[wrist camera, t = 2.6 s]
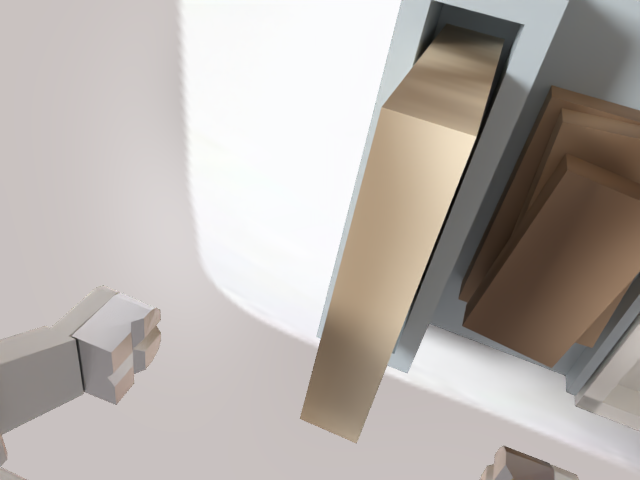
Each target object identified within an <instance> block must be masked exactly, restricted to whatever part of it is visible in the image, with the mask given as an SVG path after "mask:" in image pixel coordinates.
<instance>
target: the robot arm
mask: <svg viewBox="0 0 640 480" xmlns="http://www.w3.org/2000/svg"><path fill="white" fill-rule="evenodd" d="M160 320H161V315H160V310H159V309H157V308H155V307H153V306H151V305H148V304H146V303H144V302H142V301H139V300H137V299H134V298H132V297H130V296H128V295H125V294H123V293H120V292H118V291H115V290H113V289H111V288H108V287H106V286H104V285H103V286H100V287H97V288H95V289H94V290H93V291H92V292H90V293H89V294H88V295H87V296H86V297H85V298H84V299H83V300H82V301H80V302H79V303H78V304H77V305H76V306H75V307H73V308H72V309H71V310H70V311H69V312H68V313H67V314H66V315H65V316H63V317H62V318H61V319H60V320H59V321H58V322H57V323H55V324H54V325H53V326H52V327H51V328H49V327H46V326H43V327H40V328H37V329H34V330H30V331H27V332H24V333H20V334H17V335H14V336H11V337H8V338H4V339H1V340H0V480H27V479H24V478H22V477H20V476H18V475H16V474H14V473H12V472H10V471H8V470H6V469H4V468H2V467H1V466H2V464H3V463H4V462H5V461H6V460H7V451H6V447H5V444H4V441H3V438H2V434H4V433H6V432H8V431H10V430H12V429H14V428H16V427H18V426H20V425H22V424H24V423H26V422H28V421H30V420H32V419H34V418H36V417H38V416H40V415H42V414H44V413H46V412H48V411H50V410H53V409H55V408H56V407H58V406H61V405H63V404H64V403H67V402H69V401H70V400H73V399H74V398H77V397H79V396H81V395H82V394H84V392H86V393H89V394H91V395H93V396H96V397H98V398H100V399H103V400H106V401H108V402H111V403H113V404H115V405H117V403H118V402H119V401H120V400H121V398H122V397H123V396H124V395H125V394H126V393H127V391H128V390H129V389H130V388H131V387H132V385H133V384H134V374H135V373H138V372H140V371H143V370H145V369H146V368H147V367H148V366H149V364H150V363H151V362H152V361H153V359H154V357H155V355H156V353H157V351H158V349H159V345H160V342H161V332H160V331H159V329H158V328H157V326H156V325H157V324H158V322H159V321H160ZM480 480H579V479H578V477H577V475H576V474H573V473H571V472H568V471H566V470H563V469H561V468H558V467H556V466H553V465H550V464H549V463H547V462H544V461H542V460H539V459H537V458H534V457H532V456H529V455H526V454H524V453H521V452H519V451H516V450H513V449H511V448H508V447H505V446H502V447H500V448H499V449H498V451H497V452H496V454H495V460H494V464H493V465H489V466H487V467H486V469H485V470H484V472H483V474H482V475H481V478H480Z"/></svg>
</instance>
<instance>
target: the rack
mask: <svg viewBox="0 0 640 480" xmlns="http://www.w3.org/2000/svg"><path fill="white" fill-rule="evenodd" d="M446 24H451V25H455V26H458V27H462V28H466V29H469V30H473V31H477V32H480V33H484V34H487V35H491V36H495V37H498V38H502V39H505V40H504V43H503V47H502V50H501V54H500V57H499V61H498V64H497V68H496V71H495V75H494V78H493V82H492V85H491V89H490V92H489V96H488V99H487V102H486V106H485V109H484V113H483V116H482V120H481V123H480V127H479V130H478V134H477V137H476V140H475V142H474V145H473V147H472V150H471V152H470V155H469V157H468V160H467V163H466V165H465V168H464V170H463V173H462V175H461V178H460V180H459V183H458V186H457V188H456V191H455V193H454V196H453V198H452V201H451V203H450V206H449V209H448V211H447V214H446V216H445V219H444V221H443V224H442V226H441V229H440V232H439V234H438V237H437V239H436V242H435V244H434V247H433V249H432V252H431V255H430V257H429V260H428V262H427V265H426V267H425V270H424V272H423V275H422V278H421V280H420V283H419V285H418V288H417V290H416V293H415V295H414V298H413V301H412V303H411V306H410V308H409V311H408V313H407V316H406V318H405V321H404V324H403V326H402V329H401V331H400V334H399V336H398V339H397V341H396V344H395V347H394V349H393V352H392V354H391V357H390V359H389V362H388V364H387V366H390V367H392V368H395V369H397V370H400V371H402V372H405V373H408V371H409V369H410V366H411V364H412V362H413V360H414V357H415V355H416V353H417V350H418V348H419V346H420V343H421V341H422V339H423V336H424V334H425V332H426V330H427V327H428V325H429V324H432V325H434V326H437V327H440V328H442V329H445V330H448V331H450V332H453V333H455V334H458V335H461V336H463V337H466V338H468V339H471V340H474V341H476V342H479V343H481V344H484V345H487V346H489V347H492V348H495V349H497V350H500V351H502V352H505V353H508V354H510V355H513V356H515V357H518V358H521V359H523V360H526V361H529V362H531V363H534V364H536V365H539V366H542V367H544V368H547V369H549V370H552V371H555V372H557V373H560V374H562V375H565V376H566V392H567V393H570V394H573V395H575V396H576V395H577V393H578V392H579V391H580V389H581V388H582V387H583V385H584V384H585V383H586V382H587V380H588V379H589V378H590V376H591V375H592V374H593V372H594V371H595V370H596V369H597V367H598V366H599V365H600V363H601V362H602V361H603V359H604V358H605V357H606V355H607V354H608V353H609V352H610V350H611V349H612V348H613V346H614V345H615V344H616V342H617V341H618V340H619V339H620V337H621V336H622V335H623V333H624V332H625V331H626V329H627V328H628V327H629V326H630V324H631V323H632V322H633V320H634V319H635V318H636V316H637V315H638V314H639V312H640V272H639V273H638V274H637V275H636V276H635V278H634V280H633V281H632V283H631V284H630V286H629V288H628V289H627V291H626V293H625V294H624V296H623V298H622V299H621V301H620V303H619V304H618V306H617V308H616V309H615V311H614V313H613V314H612V316H611V318H610V319H609V321H608V323H607V324H606V326H605V328H604V329H603V331H602V333H601V334H600V336H599V338H598V339H597V341H596V343H595V344H594V346H593V348H590V347H587V346H584V345H581V344H578V343H574V344H573V345H572V346H571V347H570V349H569V350H568V351H567V352H566V353H565V354H564V355H563V356H562V357H561V359H560V360H559V361H558V362H557V363H556V364H555V365H554V366H553V367H552V368H550V367H548V366H546V365H544V364H542V363H539V362H537V361H535V360H533V359H531V358H529V357H527V356H525V355H522V354H520V353H518V352H516V351H514V350H512V349H510V348H508V347H505V346H503V345H501V344H499V343H497V342H495V341H493V340H491V339H488V338H486V337H484V336H482V335H480V334H478V333H476V332H474V331H471V330H469V329H467V328H465V327H463V326H462V324H463V319H464V314H465V308H466V304H467V302H464V301H462V300H459V299H458V298H459V293H460V289H461V284H462V280H463V278H464V276H465V274H466V272H467V269H468V267H469V265H470V263H471V261H472V258H473V256H474V254H475V252H476V250H477V248H478V245H479V243H480V241H481V239H482V237H483V234H484V232H485V230H486V228H487V226H488V223H489V221H490V219H491V217H492V215H493V212H494V210H495V208H496V206H497V204H498V202H499V199H500V197H501V195H502V193H503V191H504V188H505V186H506V184H507V182H508V180H509V177H510V175H511V173H512V171H513V169H514V166H515V164H516V162H517V160H518V158H519V155H520V153H521V151H522V149H523V147H524V145H525V142H526V140H527V138H528V136H529V134H530V131H531V129H532V127H533V125H534V123H535V120H536V118H537V116H538V114H539V112H540V109H541V107H542V105H543V103H544V101H545V99H546V96H547V94H548V92H549V90H550V88H551V85H553V86H556V87H560V88H563V89H567V90H570V91H574V92H577V93H581V94H584V95H588V96H591V97H595V98H598V99H602V100H605V101H609V102H612V103H616V104H619V105H622V106H626V107H629V108H633V109H636V110H640V0H402V1H401V5H400V9H399V13H398V17H397V21H396V24H395V28H394V32H393V36H392V40H391V44H390V48H389V52H388V56H387V60H386V64H385V68H384V72H383V76H382V80H381V84H380V88H379V92H378V96H377V100H376V103H375V107H374V111H373V115H372V119H371V123H370V127H369V131H368V135H367V139H366V143H365V147H364V151H363V155H362V159H361V163H360V167H359V171H358V175H357V178H356V182H355V186H354V190H353V194H352V198H351V202H350V206H349V210H348V214H347V218H346V222H345V226H344V230H343V234H342V238H341V242H340V246H339V250H338V254H337V257H336V261H335V265H334V269H333V273H332V277H331V281H330V285H329V289H328V293H327V297H326V301H325V305H324V309H323V313H322V317H321V321H320V325H319V329H318V333H317V336H316V337H318V338H321V336H322V332H323V329H324V325H325V321H326V317H327V313H328V310H329V306H330V302H331V298H332V294H333V290H334V287H335V283H336V279H337V275H338V271H339V267H340V264H341V260H342V256H343V252H344V248H345V245H346V241H347V237H348V233H349V229H350V225H351V222H352V218H353V214H354V210H355V206H356V202H357V199H358V195H359V191H360V187H361V183H362V180H363V176H364V172H365V168H366V164H367V160H368V157H369V153H370V149H371V145H372V141H373V137H374V134H375V130H376V126H377V122H378V118H379V115H380V111H381V107H382V106H383V104H384V103H385V102H386V101H387V99H388V98H389V97H390V95H391V94H392V93H393V92H394V90H395V89H396V88H397V86H398V85H399V84H400V83H401V81H402V80H403V79H404V78H405V76H406V75H407V74H408V72H409V71H410V70H411V69H412V67H413V66H414V65H415V63H416V62H417V61H418V60H419V58H420V57H421V56H422V54H423V53H424V52H425V51H426V49H427V48H428V47H429V46H430V44H431V43H432V42H433V40H434V39H435V38H436V37H437V35H438V34H439V33H440V31H441V30H442V29H443V28H444V26H445V25H446Z"/></svg>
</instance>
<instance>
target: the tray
mask: <svg viewBox="0 0 640 480" xmlns="http://www.w3.org/2000/svg"><path fill="white" fill-rule="evenodd" d="M574 397H575V406H576V407H579V408H581V409H584V410H586V411H589V412H591V413H594V414H597V415H599V416H602V417H604V418H607V419H609V420H612V421H614V422H617V423H620V424H622V425H625V426H627V427H630V428H632V429H635V430H637V431H640V312H639V314H638V315H637V316H636V318H635V319H634V320H633V322H632V323H631V324H630V326H629V327H628V328H627V329H626V331H625V332H624V333H623V335H622V336H621V337H620V339H619V340H618V341H617V342H616V344H615V345H614V346H613V348H612V349H611V350H610V352H609V353H608V354H607V355H606V357H605V358H604V359H603V361H602V362H601V363H600V365H599V366H598V367H597V369H596V370H595V371H594V372H593V374H592V375H591V376H590V378H589V379H588V380H587V382H586V383H585V384H584V385H583V387H582V388H581V389H580V391H579V392H578V393H577V395H576V396H575V395H574Z"/></svg>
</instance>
